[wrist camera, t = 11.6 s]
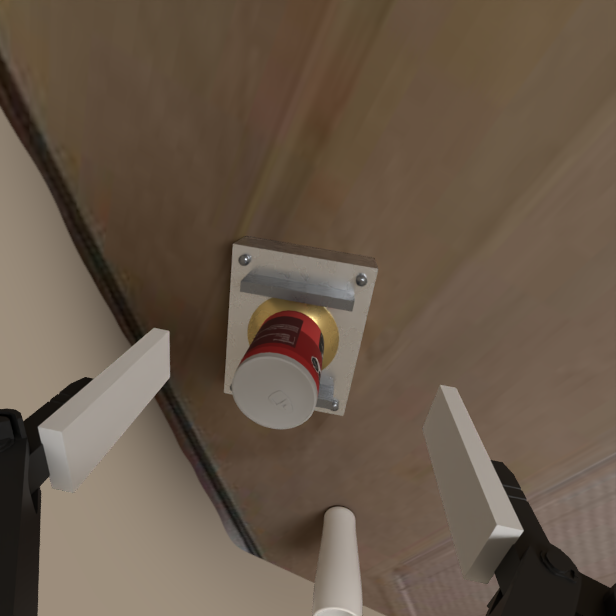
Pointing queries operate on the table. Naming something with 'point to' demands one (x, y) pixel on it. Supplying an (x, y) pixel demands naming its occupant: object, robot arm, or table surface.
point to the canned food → (281, 371)
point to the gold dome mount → (301, 305)
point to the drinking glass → (338, 567)
